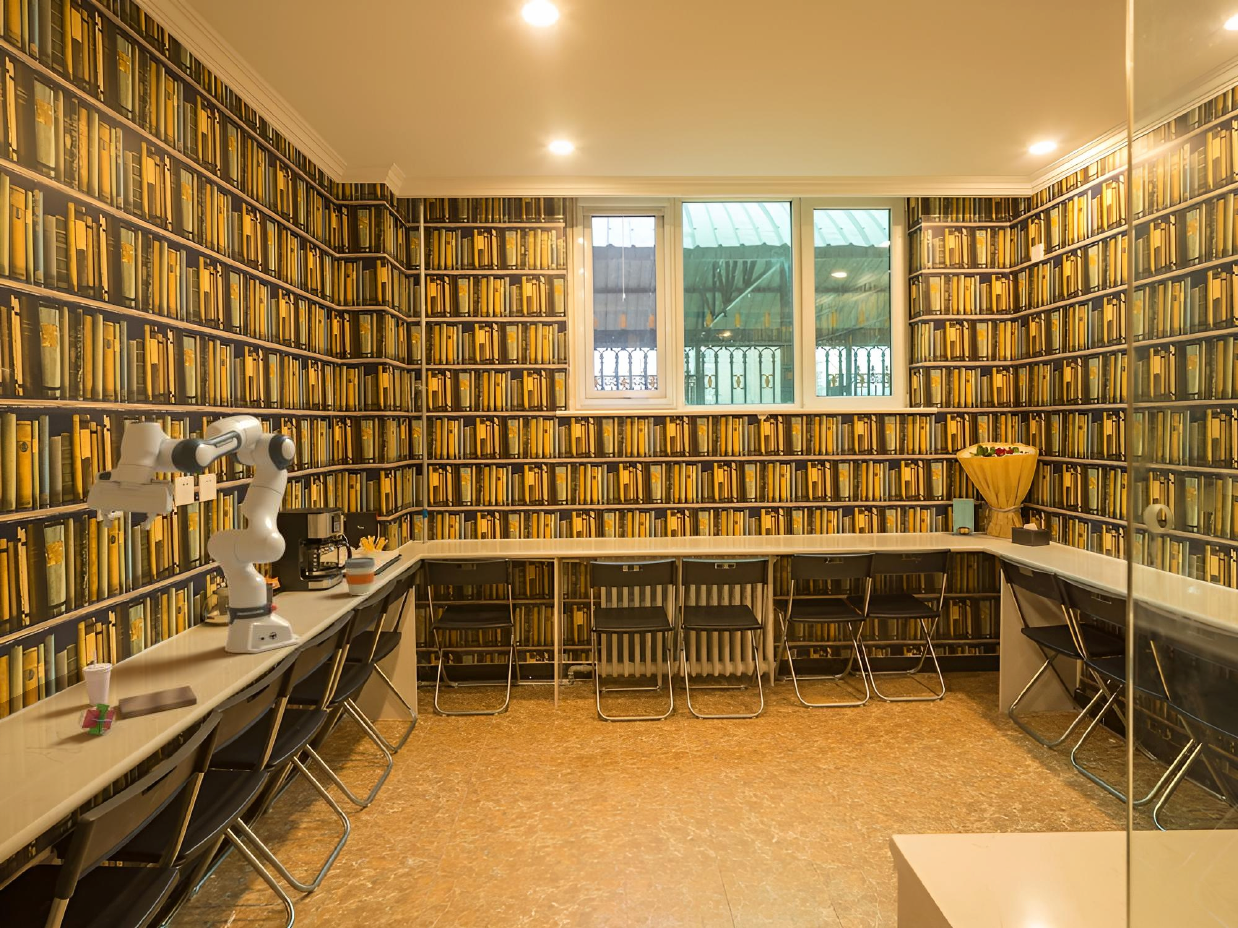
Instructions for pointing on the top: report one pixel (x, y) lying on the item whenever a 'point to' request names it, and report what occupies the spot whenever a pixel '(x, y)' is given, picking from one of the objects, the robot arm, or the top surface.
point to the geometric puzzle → (97, 719)
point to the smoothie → (97, 681)
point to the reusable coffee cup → (359, 574)
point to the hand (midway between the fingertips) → (126, 528)
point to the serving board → (157, 701)
